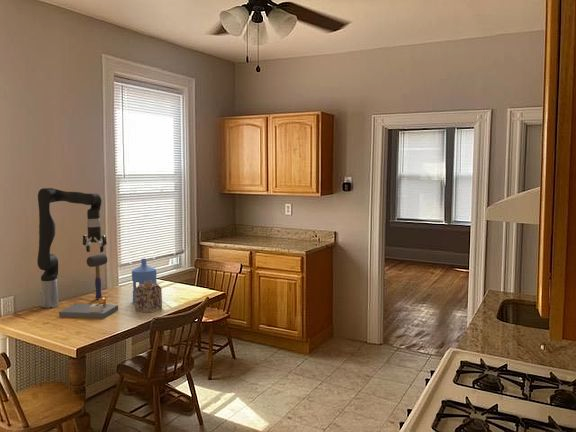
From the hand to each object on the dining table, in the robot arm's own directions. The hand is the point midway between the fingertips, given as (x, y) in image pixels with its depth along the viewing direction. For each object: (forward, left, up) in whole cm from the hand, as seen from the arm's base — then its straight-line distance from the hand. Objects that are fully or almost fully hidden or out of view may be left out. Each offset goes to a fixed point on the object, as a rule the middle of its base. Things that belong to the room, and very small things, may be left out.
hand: (95, 252), depth 309 cm
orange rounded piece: (+5, -3, -36) cm, 37 cm away
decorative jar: (+32, +3, -36) cm, 49 cm away
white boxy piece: (+7, -13, -33) cm, 36 cm away
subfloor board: (-1, -8, -36) cm, 37 cm away
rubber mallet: (-12, +24, -36) cm, 45 cm away
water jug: (+21, +23, -36) cm, 48 cm away
